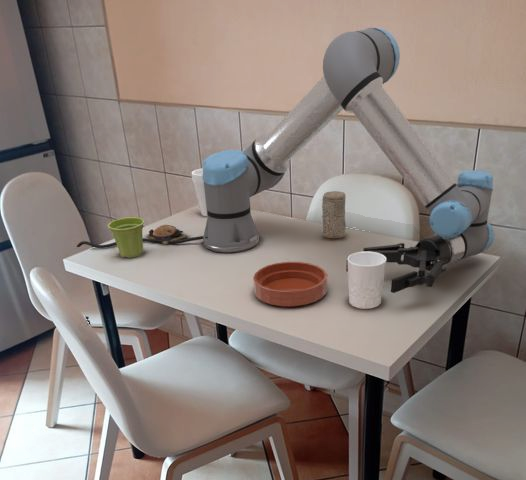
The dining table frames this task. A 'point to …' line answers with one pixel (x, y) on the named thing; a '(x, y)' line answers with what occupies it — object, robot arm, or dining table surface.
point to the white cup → (366, 279)
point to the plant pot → (128, 236)
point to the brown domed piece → (166, 233)
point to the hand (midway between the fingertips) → (369, 276)
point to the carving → (333, 214)
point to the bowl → (290, 283)
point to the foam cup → (200, 189)
